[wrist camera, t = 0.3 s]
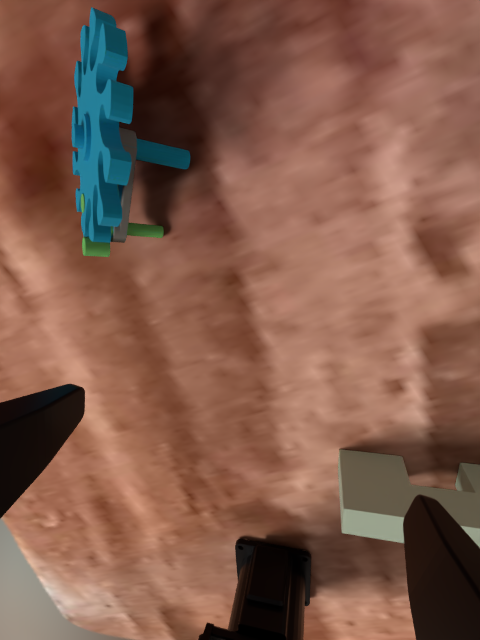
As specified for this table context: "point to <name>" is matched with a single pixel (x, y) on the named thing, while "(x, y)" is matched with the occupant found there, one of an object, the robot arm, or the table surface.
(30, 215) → the table surface
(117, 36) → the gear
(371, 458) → the sage board
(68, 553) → the table surface
